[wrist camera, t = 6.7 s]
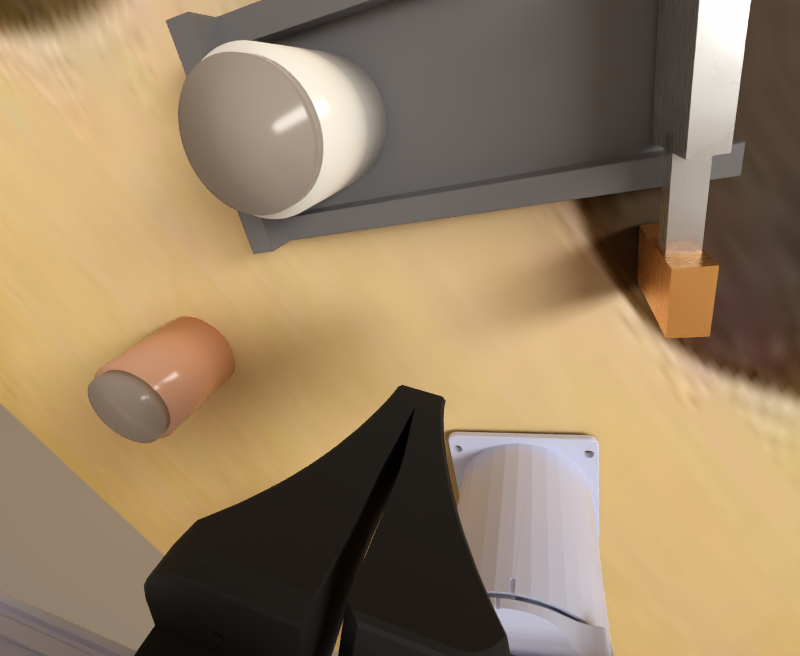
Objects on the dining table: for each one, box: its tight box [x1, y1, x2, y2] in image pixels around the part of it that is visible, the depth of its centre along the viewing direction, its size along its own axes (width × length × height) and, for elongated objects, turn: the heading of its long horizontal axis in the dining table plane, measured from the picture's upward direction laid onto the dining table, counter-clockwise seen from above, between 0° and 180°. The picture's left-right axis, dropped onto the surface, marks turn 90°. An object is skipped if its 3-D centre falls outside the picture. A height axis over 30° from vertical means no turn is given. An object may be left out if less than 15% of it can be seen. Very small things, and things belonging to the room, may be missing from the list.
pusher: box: [637, 0, 751, 338], centre depth 13 cm, size 11×1×5 cm, turn 12°
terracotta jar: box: [88, 317, 235, 443], centre depth 25 cm, size 5×5×6 cm
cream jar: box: [178, 40, 387, 219], centre depth 15 cm, size 5×5×6 cm
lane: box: [166, 0, 745, 254], centre depth 15 cm, size 8×18×4 cm, turn 102°
